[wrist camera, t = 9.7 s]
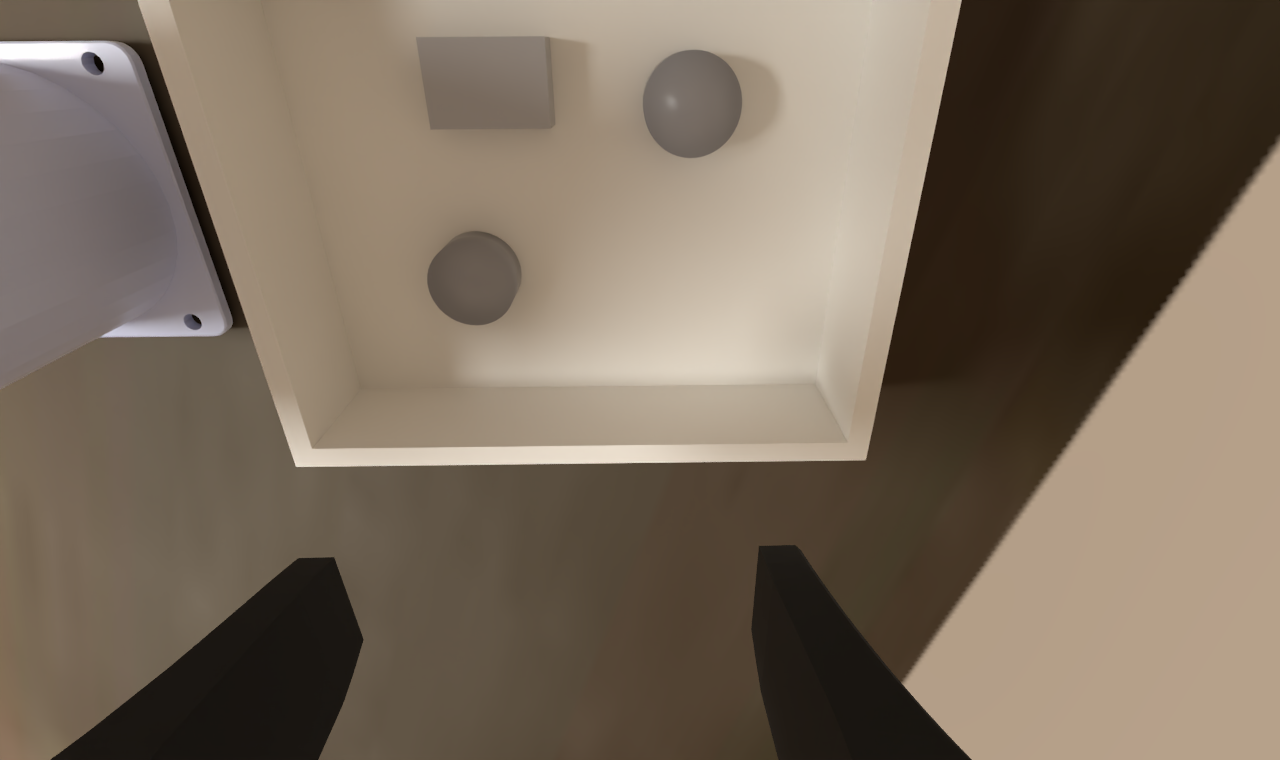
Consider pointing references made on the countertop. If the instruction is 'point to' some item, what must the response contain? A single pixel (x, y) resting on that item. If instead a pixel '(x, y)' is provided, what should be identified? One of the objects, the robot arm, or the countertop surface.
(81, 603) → the countertop surface
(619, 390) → the tub
